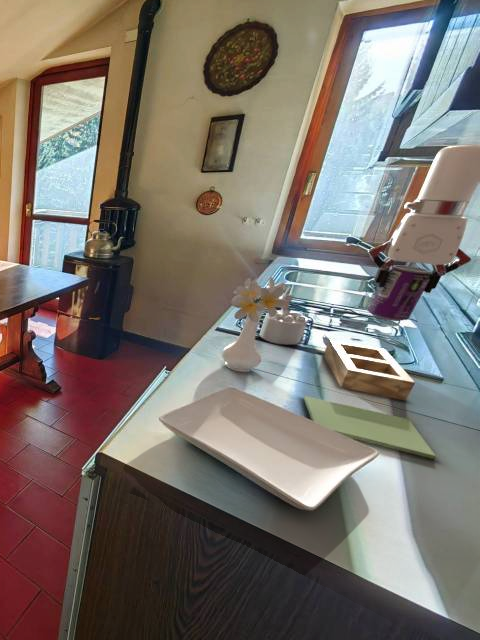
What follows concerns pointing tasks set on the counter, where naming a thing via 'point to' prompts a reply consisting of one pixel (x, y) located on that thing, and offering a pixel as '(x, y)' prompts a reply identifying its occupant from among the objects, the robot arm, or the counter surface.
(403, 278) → the beverage can
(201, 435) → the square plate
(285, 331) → the lumpy-topped squat cylinder
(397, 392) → the can rack
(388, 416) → the mat
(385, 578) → the counter surface
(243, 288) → the flower vase
